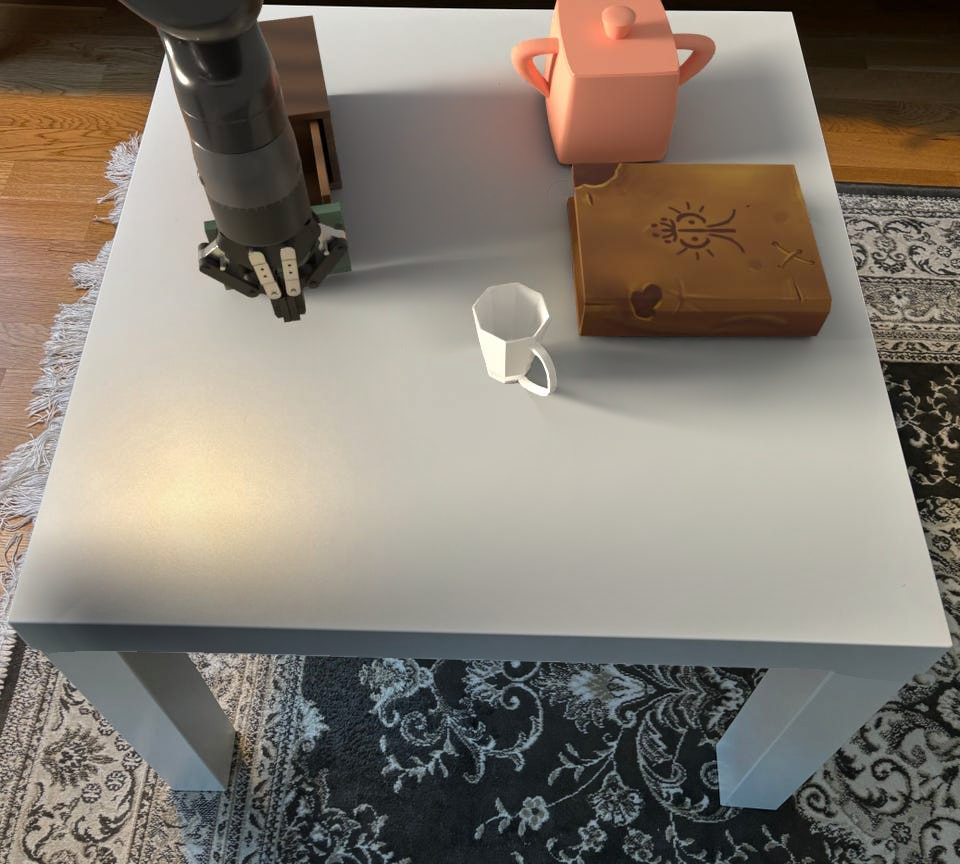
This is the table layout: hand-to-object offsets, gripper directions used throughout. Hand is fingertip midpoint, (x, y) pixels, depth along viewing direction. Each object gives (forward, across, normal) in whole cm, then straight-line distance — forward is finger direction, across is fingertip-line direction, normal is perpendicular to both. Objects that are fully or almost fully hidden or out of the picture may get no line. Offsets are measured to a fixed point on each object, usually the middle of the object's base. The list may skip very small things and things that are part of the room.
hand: (291, 314), depth 82 cm
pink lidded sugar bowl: (+5, -38, -28) cm, 47 cm away
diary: (+5, -40, -2) cm, 40 cm away
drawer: (+4, 0, -12) cm, 13 cm away
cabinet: (+5, 0, -28) cm, 29 cm away
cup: (+5, -20, +8) cm, 22 cm away
